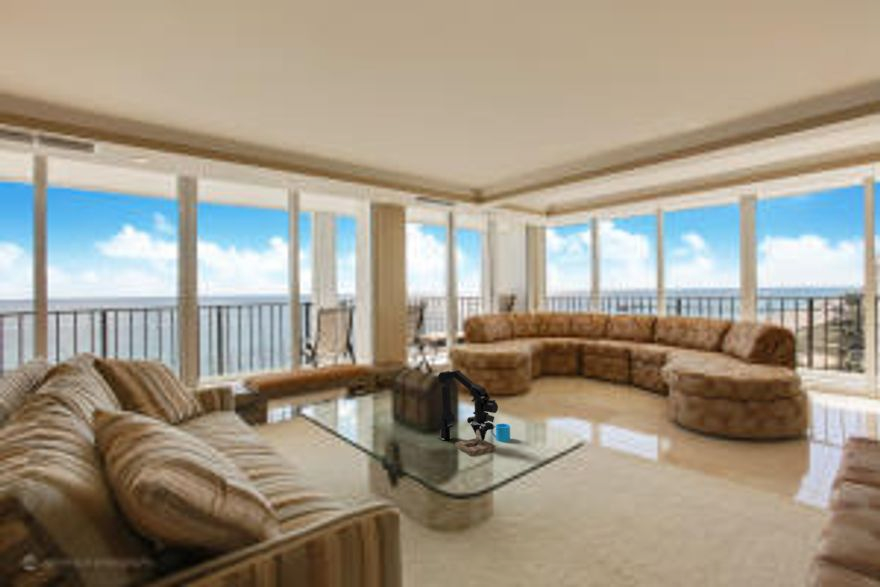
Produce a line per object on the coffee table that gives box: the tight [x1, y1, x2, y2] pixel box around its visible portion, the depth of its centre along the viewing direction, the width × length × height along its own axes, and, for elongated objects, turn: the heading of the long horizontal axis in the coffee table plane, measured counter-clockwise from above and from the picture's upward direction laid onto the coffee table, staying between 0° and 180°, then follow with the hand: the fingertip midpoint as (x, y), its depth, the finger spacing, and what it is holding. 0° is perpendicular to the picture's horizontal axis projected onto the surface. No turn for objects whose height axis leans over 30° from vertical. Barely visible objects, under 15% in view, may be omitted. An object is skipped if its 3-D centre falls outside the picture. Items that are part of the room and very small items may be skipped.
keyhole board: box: [454, 437, 497, 457], centre depth 228 cm, size 16×16×2 cm
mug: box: [490, 423, 511, 443], centre depth 243 cm, size 12×8×8 cm
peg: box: [475, 429, 486, 445], centre depth 230 cm, size 5×5×9 cm
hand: (480, 438), depth 230 cm, fingers closed on peg, 5 cm apart
